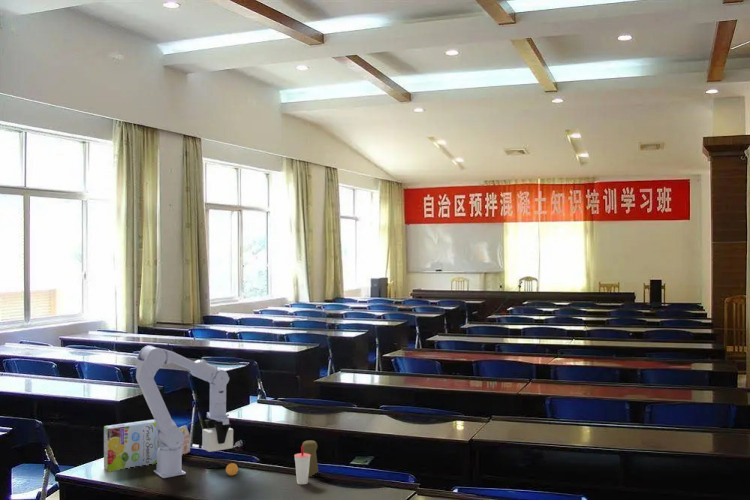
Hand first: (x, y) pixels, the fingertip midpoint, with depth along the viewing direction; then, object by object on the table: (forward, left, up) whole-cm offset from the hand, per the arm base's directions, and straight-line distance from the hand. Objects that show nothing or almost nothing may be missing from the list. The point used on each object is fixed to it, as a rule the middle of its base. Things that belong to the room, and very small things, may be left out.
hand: (217, 441), depth 243 cm
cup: (+35, +14, -9) cm, 39 cm away
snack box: (-17, -23, -9) cm, 30 cm away
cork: (+28, +21, -9) cm, 36 cm away
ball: (+14, -1, -6) cm, 15 cm away
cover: (0, 0, -2) cm, 2 cm away
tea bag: (-22, -5, -9) cm, 24 cm away
